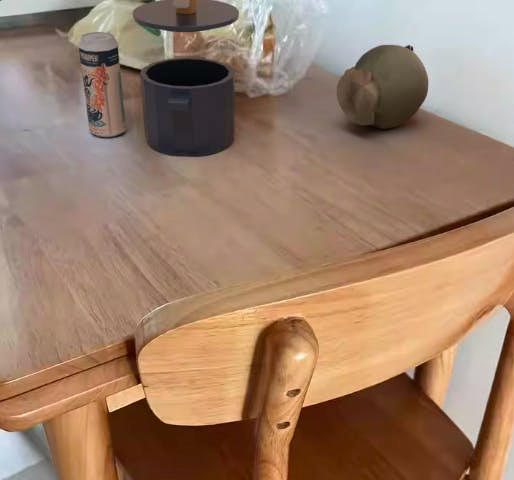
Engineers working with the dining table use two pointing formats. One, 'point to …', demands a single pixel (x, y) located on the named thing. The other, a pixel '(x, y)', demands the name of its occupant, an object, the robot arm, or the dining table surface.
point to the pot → (188, 106)
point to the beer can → (102, 84)
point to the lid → (186, 15)
